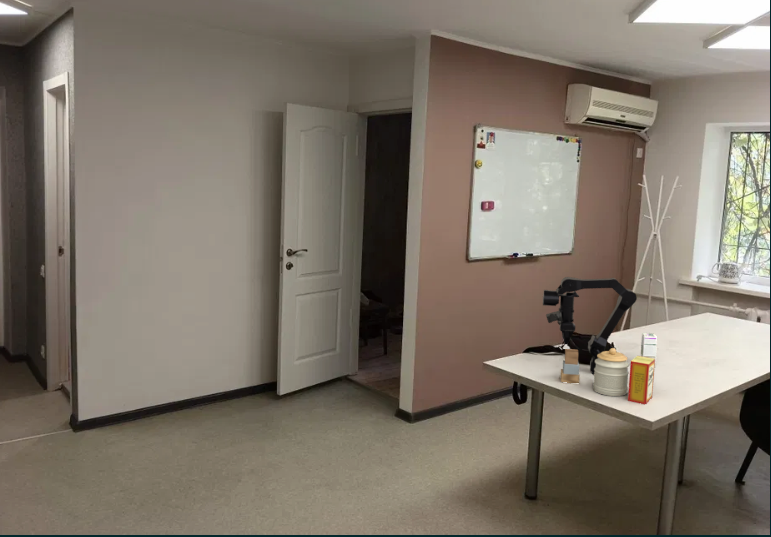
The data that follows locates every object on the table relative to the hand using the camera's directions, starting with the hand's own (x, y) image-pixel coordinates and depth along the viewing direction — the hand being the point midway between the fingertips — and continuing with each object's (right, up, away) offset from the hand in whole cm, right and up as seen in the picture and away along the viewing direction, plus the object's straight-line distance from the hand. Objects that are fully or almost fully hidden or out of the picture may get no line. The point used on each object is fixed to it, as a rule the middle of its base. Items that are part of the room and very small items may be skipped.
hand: (564, 341), depth 277 cm
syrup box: (+40, -12, +10) cm, 43 cm away
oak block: (-1, -15, -12) cm, 19 cm away
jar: (+11, -17, -24) cm, 32 cm away
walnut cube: (-1, -7, -13) cm, 15 cm away
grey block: (-1, -11, -13) cm, 17 cm away
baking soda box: (+20, -19, -33) cm, 43 cm away
